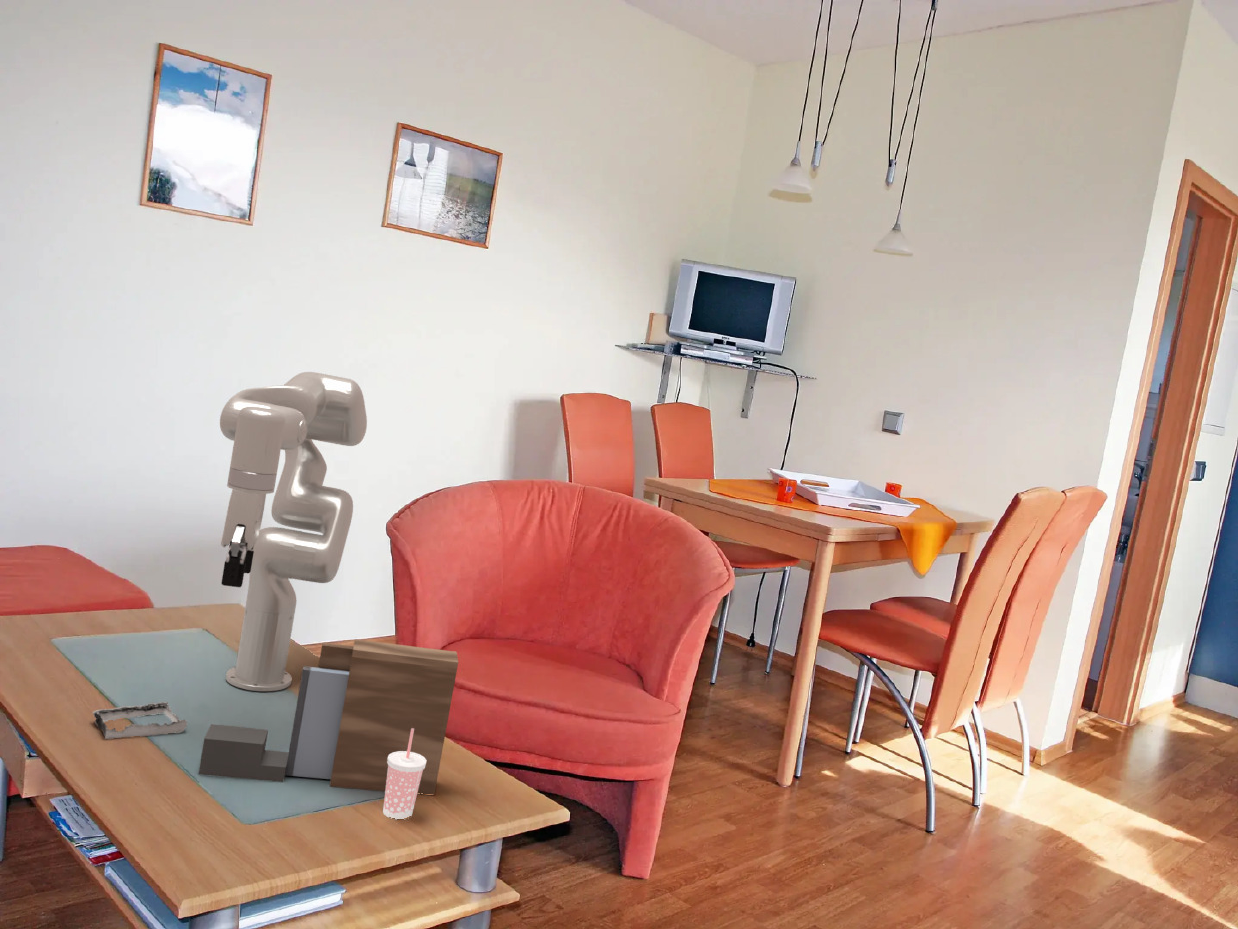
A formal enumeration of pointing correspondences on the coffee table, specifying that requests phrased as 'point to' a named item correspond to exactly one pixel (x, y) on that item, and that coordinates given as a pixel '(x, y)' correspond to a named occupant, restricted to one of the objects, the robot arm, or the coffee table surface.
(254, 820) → the coffee table surface
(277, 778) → the grey stepped block
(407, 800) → the beverage cup
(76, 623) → the coffee table surface
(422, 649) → the door wall
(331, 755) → the sliding door
